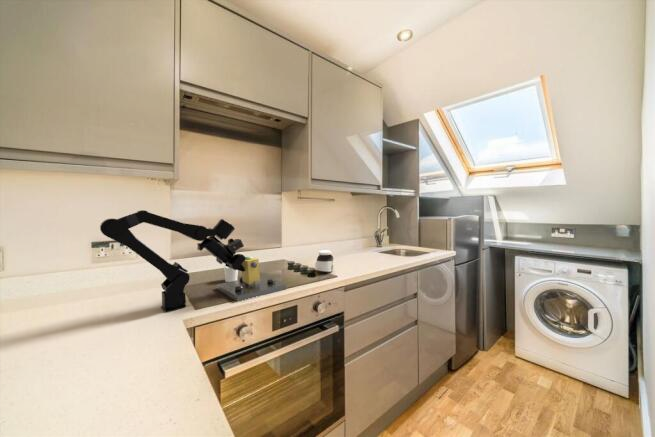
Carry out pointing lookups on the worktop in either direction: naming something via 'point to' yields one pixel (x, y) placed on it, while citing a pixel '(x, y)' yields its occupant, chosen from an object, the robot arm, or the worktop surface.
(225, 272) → the white cup
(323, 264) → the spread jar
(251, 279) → the yellow rectangular block
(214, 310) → the worktop surface
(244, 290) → the tribrach plate
